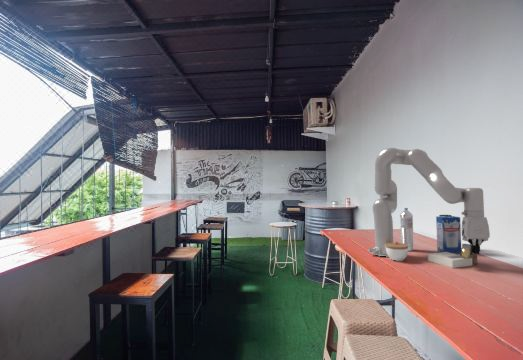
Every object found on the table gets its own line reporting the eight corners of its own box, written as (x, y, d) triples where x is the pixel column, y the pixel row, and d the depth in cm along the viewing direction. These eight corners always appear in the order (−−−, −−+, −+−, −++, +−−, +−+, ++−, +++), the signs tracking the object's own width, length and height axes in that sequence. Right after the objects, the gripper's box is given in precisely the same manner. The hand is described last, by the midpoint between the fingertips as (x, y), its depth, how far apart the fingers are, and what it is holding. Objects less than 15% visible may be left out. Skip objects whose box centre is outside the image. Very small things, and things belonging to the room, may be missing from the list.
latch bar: (462, 251, 146) (462, 243, 146) (472, 252, 143) (472, 243, 143) (460, 258, 133) (460, 248, 134) (471, 259, 131) (470, 249, 131)
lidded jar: (386, 261, 148) (386, 243, 149) (385, 256, 159) (384, 239, 159) (410, 263, 145) (409, 244, 145) (406, 257, 155) (406, 240, 155)
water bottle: (411, 248, 176) (409, 207, 176) (415, 251, 169) (414, 208, 170) (399, 248, 177) (398, 207, 177) (403, 251, 170) (402, 208, 170)
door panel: (452, 267, 135) (452, 259, 135) (428, 260, 149) (427, 253, 149) (472, 265, 138) (472, 257, 138) (446, 258, 152) (446, 251, 152)
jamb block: (471, 264, 139) (470, 255, 140) (459, 261, 145) (459, 252, 145) (477, 264, 141) (477, 254, 141) (465, 261, 146) (465, 251, 146)
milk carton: (443, 253, 163) (442, 217, 164) (437, 250, 169) (436, 216, 170) (461, 252, 163) (460, 217, 163) (454, 250, 169) (453, 216, 169)
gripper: (461, 215, 133) (463, 255, 133) (496, 214, 132) (498, 255, 131) (452, 213, 141) (454, 251, 141) (486, 213, 139) (487, 251, 139)
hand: (475, 253), depth 136 cm, fingers closed
